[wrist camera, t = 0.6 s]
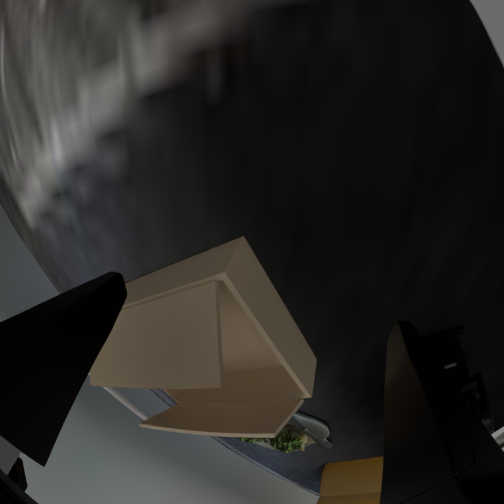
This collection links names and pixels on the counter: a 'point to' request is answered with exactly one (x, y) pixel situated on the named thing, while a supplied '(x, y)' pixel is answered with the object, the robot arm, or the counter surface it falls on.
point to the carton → (239, 327)
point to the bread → (352, 482)
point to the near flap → (165, 344)
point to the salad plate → (296, 435)
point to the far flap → (226, 418)
